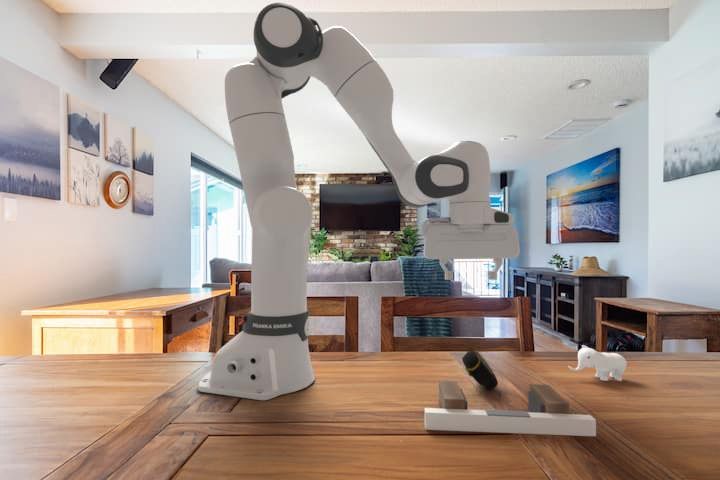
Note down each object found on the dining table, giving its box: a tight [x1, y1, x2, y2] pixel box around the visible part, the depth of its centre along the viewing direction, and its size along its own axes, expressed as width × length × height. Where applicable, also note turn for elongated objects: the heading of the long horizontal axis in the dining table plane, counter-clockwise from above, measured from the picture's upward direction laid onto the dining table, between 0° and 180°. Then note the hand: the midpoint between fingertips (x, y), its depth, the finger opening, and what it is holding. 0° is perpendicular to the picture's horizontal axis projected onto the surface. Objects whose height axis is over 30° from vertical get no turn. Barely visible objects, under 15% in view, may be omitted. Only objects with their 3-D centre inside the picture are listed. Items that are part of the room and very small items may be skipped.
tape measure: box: [461, 349, 499, 390], centre depth 70 cm, size 7×7×4 cm
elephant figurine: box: [567, 344, 628, 382], centre depth 74 cm, size 7×12×6 cm, turn 90°
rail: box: [424, 380, 597, 437], centre depth 57 cm, size 24×8×4 cm, turn 84°
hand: (470, 279), depth 80 cm, fingers open, 8 cm apart
